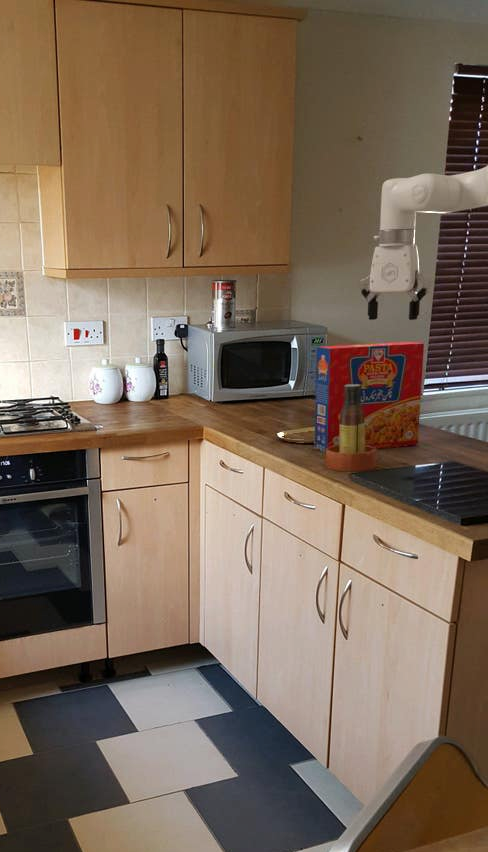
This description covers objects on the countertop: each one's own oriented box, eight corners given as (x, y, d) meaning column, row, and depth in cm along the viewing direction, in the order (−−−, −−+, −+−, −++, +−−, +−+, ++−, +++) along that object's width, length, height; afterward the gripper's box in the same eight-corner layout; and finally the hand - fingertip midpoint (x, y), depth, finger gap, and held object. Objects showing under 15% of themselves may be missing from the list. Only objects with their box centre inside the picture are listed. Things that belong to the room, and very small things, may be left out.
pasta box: (326, 453, 240) (330, 348, 231) (314, 448, 247) (316, 346, 238) (417, 445, 247) (424, 343, 238) (402, 441, 254) (408, 341, 245)
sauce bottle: (358, 461, 226) (361, 382, 219) (368, 465, 220) (371, 385, 214) (334, 462, 225) (337, 384, 218) (343, 467, 219) (346, 386, 213)
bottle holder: (384, 464, 224) (384, 446, 222) (362, 473, 214) (363, 455, 213) (339, 459, 231) (339, 442, 230) (316, 468, 222) (316, 450, 220)
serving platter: (394, 433, 265) (395, 428, 265) (304, 447, 249) (304, 441, 248) (352, 426, 281) (352, 421, 280) (264, 438, 264) (264, 433, 264)
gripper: (353, 241, 196) (350, 320, 202) (428, 237, 186) (422, 320, 192) (368, 241, 202) (364, 318, 207) (441, 237, 192) (435, 318, 197)
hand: (392, 319), depth 200 cm, fingers open, 9 cm apart
